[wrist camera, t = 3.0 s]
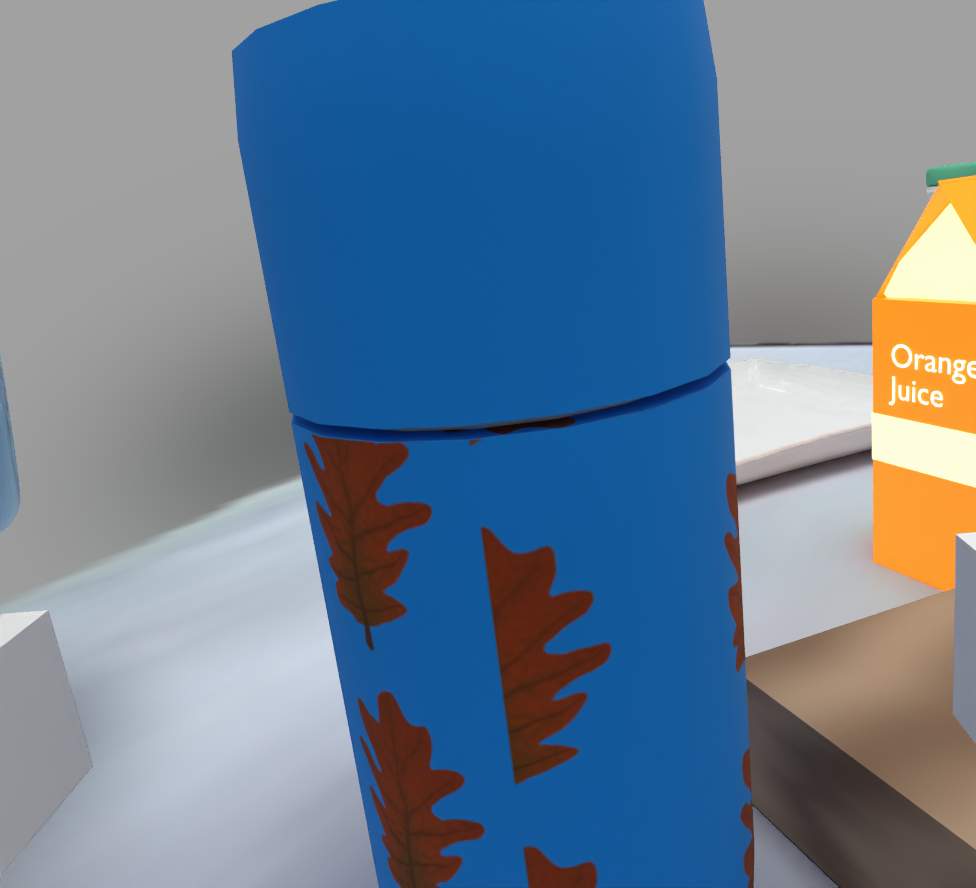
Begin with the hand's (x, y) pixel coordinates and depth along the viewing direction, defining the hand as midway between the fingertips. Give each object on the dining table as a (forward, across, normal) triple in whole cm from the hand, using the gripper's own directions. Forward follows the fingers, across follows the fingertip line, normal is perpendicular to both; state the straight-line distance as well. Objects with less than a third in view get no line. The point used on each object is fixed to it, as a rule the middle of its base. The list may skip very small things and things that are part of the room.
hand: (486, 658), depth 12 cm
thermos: (+10, 0, -15) cm, 18 cm away
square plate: (+61, +14, -15) cm, 64 cm away
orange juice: (+33, +22, -15) cm, 42 cm away
